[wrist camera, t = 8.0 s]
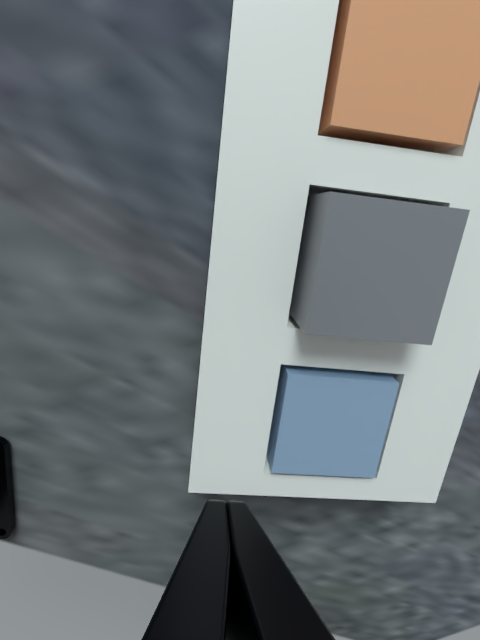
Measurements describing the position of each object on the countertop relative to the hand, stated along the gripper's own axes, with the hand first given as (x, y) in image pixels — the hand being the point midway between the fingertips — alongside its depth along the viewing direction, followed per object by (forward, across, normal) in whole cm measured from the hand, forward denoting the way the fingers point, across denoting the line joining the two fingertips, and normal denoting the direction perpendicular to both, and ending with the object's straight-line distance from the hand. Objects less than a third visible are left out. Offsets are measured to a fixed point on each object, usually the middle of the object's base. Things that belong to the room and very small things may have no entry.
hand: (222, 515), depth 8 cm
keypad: (+11, -5, -5) cm, 13 cm away
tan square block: (+10, -5, -12) cm, 16 cm away
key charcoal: (+8, -5, -5) cm, 11 cm away
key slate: (+10, -5, +2) cm, 11 cm away
